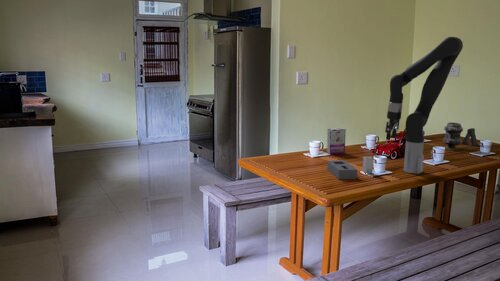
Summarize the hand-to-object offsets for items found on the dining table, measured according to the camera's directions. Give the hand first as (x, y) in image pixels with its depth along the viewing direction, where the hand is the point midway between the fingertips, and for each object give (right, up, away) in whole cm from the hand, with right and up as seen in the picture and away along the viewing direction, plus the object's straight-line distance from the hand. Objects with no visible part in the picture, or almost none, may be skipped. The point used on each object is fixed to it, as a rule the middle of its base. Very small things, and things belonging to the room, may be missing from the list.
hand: (390, 138), depth 239 cm
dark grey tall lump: (+61, -7, +54) cm, 82 cm away
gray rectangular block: (-15, -19, -8) cm, 26 cm away
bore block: (-30, -19, -9) cm, 37 cm away
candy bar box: (-23, -10, +40) cm, 48 cm away
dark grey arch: (+80, -4, +67) cm, 105 cm away
